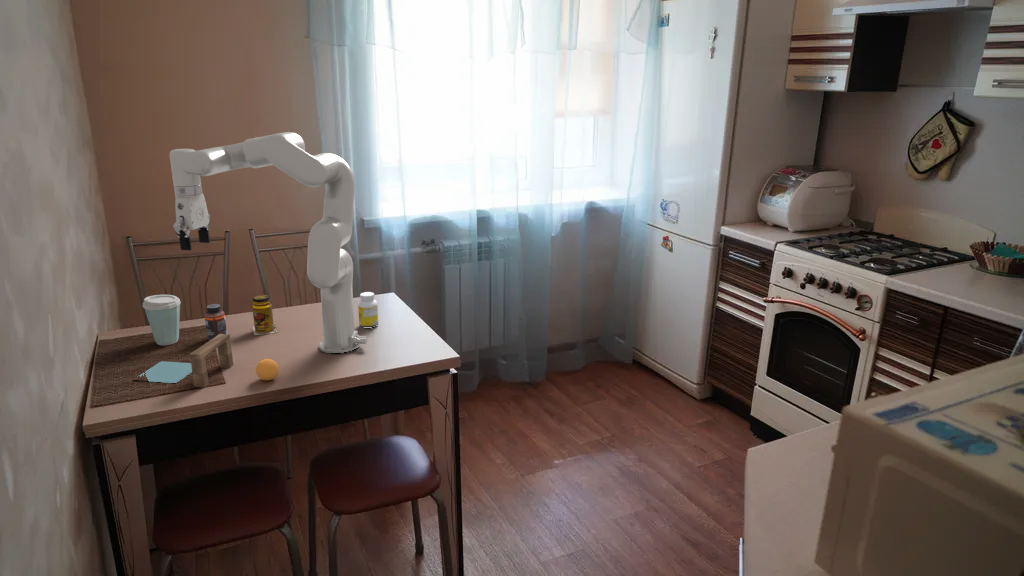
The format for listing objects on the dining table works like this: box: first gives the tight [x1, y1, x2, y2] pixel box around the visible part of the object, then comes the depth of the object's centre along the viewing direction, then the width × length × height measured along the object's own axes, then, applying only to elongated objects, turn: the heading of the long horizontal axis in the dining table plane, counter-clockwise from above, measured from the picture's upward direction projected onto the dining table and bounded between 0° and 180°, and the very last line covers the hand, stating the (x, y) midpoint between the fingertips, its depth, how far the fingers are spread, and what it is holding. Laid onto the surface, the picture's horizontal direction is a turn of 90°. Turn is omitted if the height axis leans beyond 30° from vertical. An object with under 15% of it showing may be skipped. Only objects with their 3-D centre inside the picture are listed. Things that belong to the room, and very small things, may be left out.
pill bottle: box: [357, 291, 379, 328], centre depth 225 cm, size 6×6×12 cm
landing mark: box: [138, 360, 192, 384], centre depth 189 cm, size 13×13×1 cm
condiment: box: [251, 294, 278, 336], centre depth 220 cm, size 7×8×12 cm
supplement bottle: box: [204, 303, 228, 342], centre depth 212 cm, size 6×6×11 cm
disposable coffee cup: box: [142, 294, 182, 346], centre depth 208 cm, size 11×11×15 cm
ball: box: [255, 358, 279, 381], centre depth 185 cm, size 6×6×6 cm
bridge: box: [189, 333, 234, 389], centre depth 186 cm, size 3×15×10 cm, turn 173°
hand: (195, 246), depth 204 cm, fingers open, 9 cm apart
